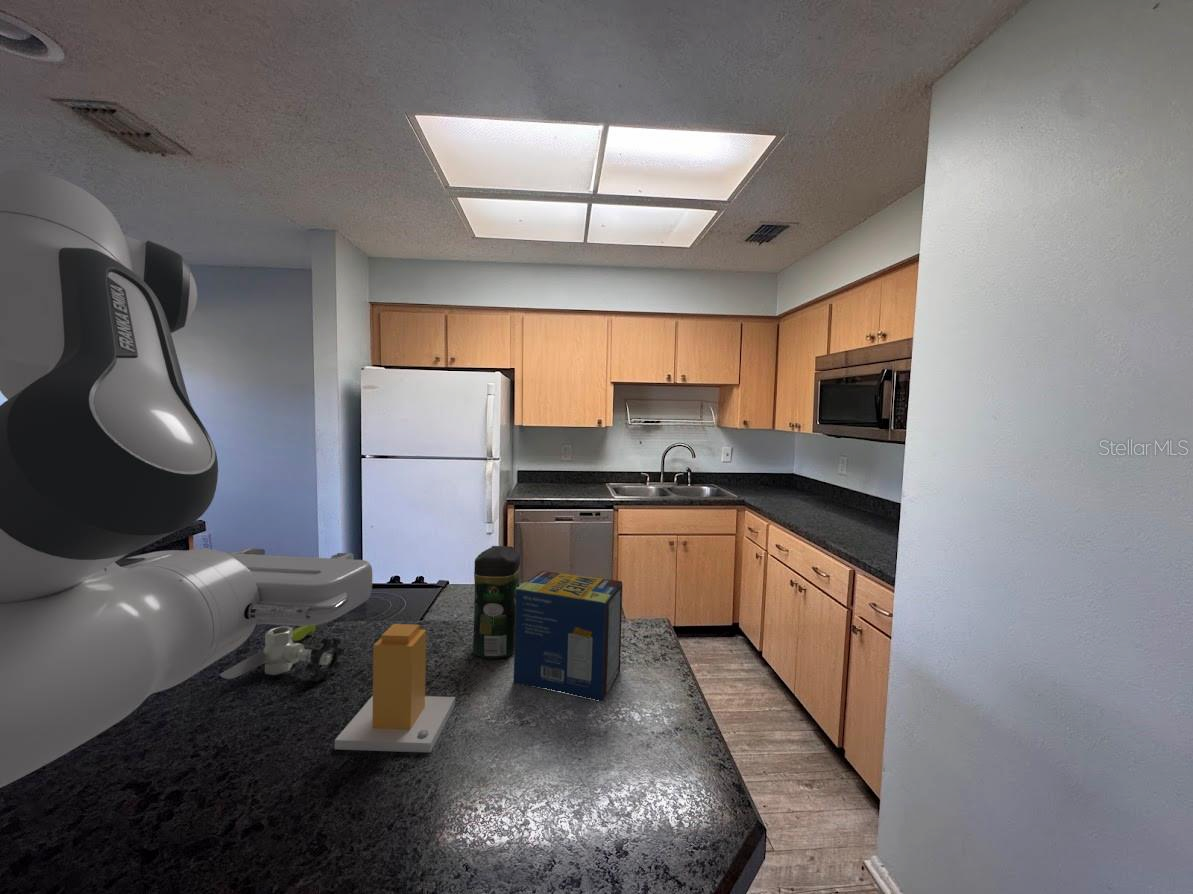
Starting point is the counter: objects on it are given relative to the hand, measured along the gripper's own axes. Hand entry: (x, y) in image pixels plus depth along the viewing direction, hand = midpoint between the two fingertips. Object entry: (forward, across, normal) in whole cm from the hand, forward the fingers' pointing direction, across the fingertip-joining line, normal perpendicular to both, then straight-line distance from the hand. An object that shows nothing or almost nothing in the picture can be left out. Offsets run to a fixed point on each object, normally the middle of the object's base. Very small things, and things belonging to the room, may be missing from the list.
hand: (302, 558), depth 49 cm
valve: (+25, +16, +27) cm, 40 cm away
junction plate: (+12, -6, +26) cm, 30 cm away
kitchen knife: (+27, +22, +27) cm, 44 cm away
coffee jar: (+35, -14, +27) cm, 46 cm away
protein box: (+26, -28, +26) cm, 47 cm away
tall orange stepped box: (+12, -6, +25) cm, 29 cm away
